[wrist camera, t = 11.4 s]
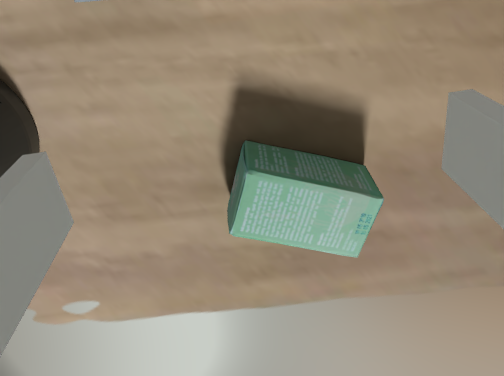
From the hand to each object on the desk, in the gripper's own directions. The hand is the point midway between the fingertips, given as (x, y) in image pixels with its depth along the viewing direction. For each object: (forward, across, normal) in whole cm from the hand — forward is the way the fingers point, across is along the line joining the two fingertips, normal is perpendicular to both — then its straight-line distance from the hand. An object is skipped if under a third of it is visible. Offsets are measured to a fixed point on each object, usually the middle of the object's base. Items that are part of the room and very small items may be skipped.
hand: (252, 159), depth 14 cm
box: (+28, +4, -16) cm, 33 cm away
